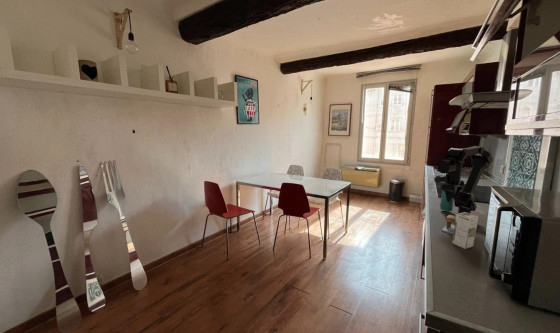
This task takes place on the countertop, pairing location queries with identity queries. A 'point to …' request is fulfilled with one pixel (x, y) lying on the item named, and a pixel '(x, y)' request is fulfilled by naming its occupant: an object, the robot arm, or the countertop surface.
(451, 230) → the board
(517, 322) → the countertop surface
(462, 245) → the syrup box
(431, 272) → the countertop surface
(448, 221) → the block with dowel legs
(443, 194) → the beverage bottle
